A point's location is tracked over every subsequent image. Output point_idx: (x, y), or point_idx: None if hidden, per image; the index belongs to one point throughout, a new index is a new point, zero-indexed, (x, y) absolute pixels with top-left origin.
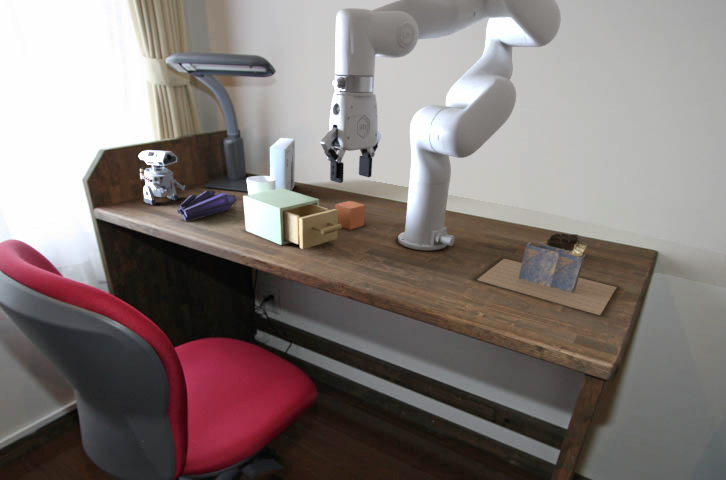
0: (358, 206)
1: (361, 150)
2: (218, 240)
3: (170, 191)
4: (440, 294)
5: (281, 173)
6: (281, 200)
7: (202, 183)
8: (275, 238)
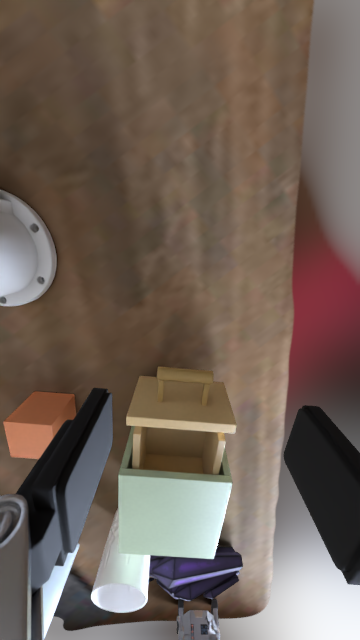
0: (24, 424)
1: (41, 628)
2: (261, 482)
3: (192, 618)
4: (221, 23)
5: None
6: (186, 510)
7: (105, 622)
8: None
